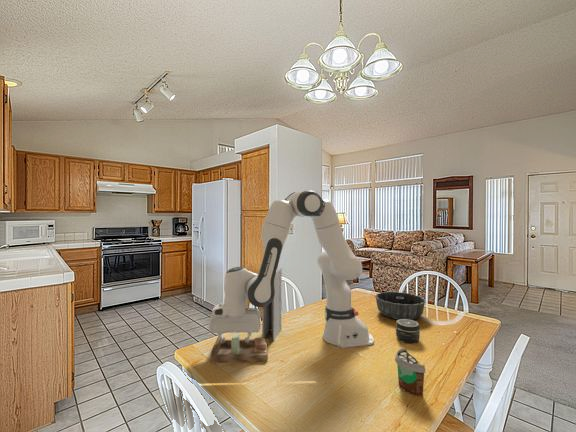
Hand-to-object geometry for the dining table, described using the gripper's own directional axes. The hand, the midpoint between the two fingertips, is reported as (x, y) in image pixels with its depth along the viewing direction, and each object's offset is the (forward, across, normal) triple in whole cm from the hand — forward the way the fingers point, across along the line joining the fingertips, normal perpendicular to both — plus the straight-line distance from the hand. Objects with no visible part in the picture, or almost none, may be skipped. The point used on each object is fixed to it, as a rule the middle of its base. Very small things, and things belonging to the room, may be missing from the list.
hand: (234, 342), depth 115 cm
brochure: (+5, -15, -18) cm, 24 cm away
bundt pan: (+4, -86, -42) cm, 96 cm away
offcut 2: (+4, -10, 0) cm, 11 cm away
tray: (+5, -3, 0) cm, 6 cm away
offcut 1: (+2, -10, 0) cm, 10 cm away
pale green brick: (+4, 0, 0) cm, 4 cm away
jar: (+4, -76, -11) cm, 77 cm away
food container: (+5, -59, +24) cm, 64 cm away
